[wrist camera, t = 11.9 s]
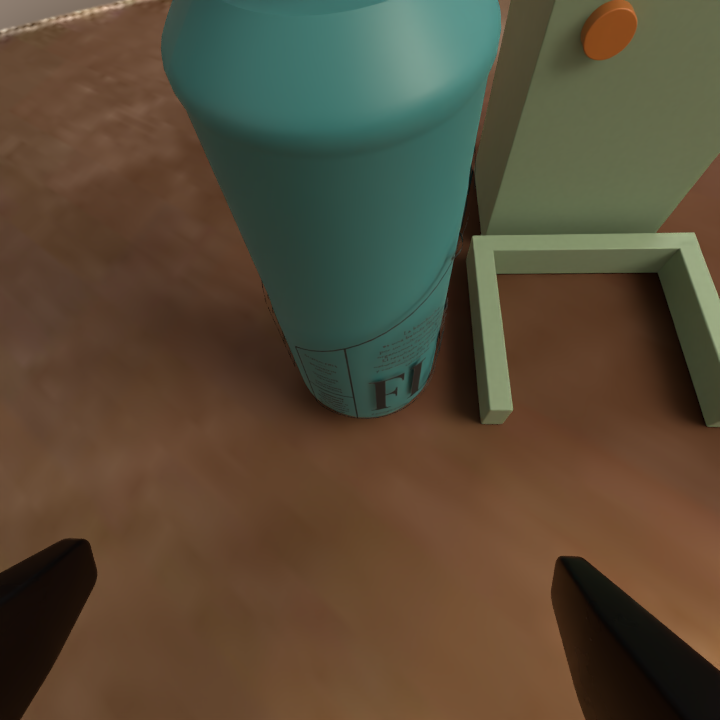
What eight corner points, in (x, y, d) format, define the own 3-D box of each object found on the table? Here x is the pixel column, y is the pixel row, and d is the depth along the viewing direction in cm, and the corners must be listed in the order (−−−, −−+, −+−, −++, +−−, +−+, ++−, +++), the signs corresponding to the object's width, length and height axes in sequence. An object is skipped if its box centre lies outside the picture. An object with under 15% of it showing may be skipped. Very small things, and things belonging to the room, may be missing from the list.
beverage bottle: (375, 462, 20) (260, -585, 2) (274, 376, 22) (-239, -496, 4) (459, 361, 22) (807, -635, 4) (359, 291, 24) (272, -558, 6)
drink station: (729, 427, 20) (1671, 39, 5) (480, 424, 20) (707, 73, 6) (638, 159, 27) (926, -311, 13) (457, 164, 28) (533, -277, 13)
